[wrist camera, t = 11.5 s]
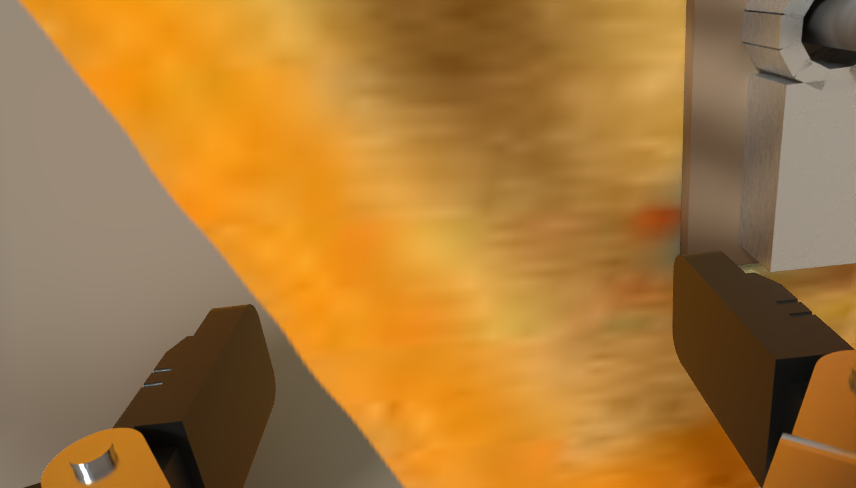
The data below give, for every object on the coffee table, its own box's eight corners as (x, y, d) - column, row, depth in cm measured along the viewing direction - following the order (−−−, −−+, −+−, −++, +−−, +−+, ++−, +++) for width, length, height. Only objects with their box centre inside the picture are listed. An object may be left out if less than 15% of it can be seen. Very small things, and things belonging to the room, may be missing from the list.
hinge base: (694, -289, 29) (835, -436, 19) (942, -328, 29) (1229, -503, 18) (679, 262, 40) (765, 361, 30) (860, 242, 39) (1013, 336, 29)
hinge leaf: (745, -36, 32) (786, -38, 29) (867, -52, 32) (924, -57, 28) (729, 244, 38) (760, 273, 34) (832, 233, 38) (875, 260, 34)
